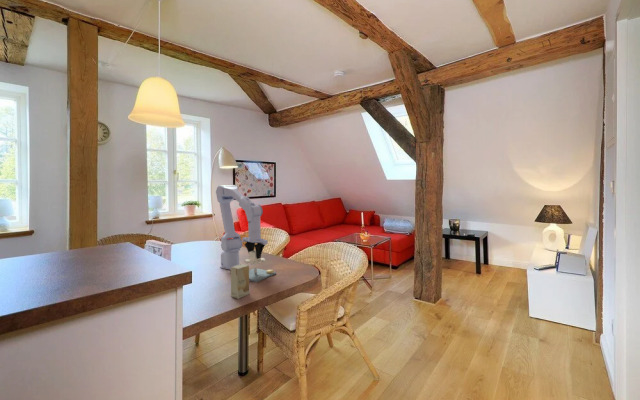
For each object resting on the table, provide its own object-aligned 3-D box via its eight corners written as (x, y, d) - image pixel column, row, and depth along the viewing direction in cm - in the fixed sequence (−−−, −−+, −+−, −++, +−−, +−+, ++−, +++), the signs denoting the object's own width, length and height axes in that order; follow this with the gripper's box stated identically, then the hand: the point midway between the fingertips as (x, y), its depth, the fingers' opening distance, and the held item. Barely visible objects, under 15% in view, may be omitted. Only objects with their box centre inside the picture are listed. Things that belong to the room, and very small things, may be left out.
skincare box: (238, 299, 120) (237, 268, 119) (230, 297, 122) (229, 267, 121) (250, 293, 125) (249, 264, 125) (242, 291, 128) (241, 263, 127)
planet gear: (242, 262, 147) (241, 252, 146) (254, 258, 154) (254, 248, 154) (255, 265, 142) (255, 254, 142) (267, 260, 150) (267, 250, 149)
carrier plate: (234, 277, 146) (234, 269, 146) (254, 269, 158) (254, 262, 158) (256, 282, 139) (256, 274, 139) (275, 273, 151) (275, 266, 151)
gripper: (237, 230, 147) (238, 257, 148) (260, 232, 140) (260, 261, 141) (247, 227, 153) (248, 254, 154) (270, 230, 146) (270, 258, 147)
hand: (255, 257), depth 148 cm, fingers closed on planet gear, 4 cm apart
